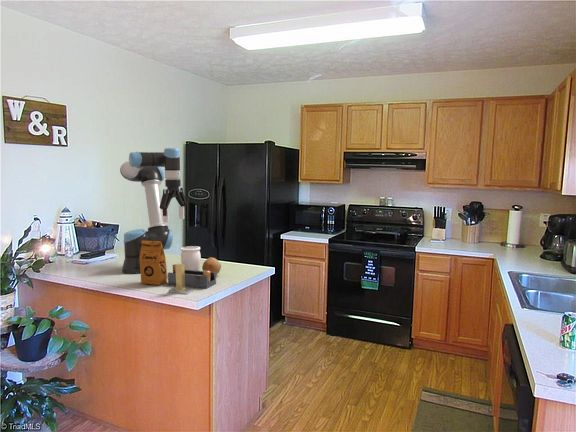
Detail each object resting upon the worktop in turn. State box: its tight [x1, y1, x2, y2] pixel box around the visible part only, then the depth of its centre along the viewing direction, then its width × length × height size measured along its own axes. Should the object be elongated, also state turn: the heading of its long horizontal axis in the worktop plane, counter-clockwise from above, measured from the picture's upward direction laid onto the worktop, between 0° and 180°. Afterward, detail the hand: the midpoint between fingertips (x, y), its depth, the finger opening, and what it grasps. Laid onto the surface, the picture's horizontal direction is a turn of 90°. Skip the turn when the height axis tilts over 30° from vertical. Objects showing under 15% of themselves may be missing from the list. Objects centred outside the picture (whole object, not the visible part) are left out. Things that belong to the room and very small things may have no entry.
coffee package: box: [139, 241, 168, 286], centre depth 214 cm, size 10×12×22 cm
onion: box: [201, 257, 222, 276], centre depth 229 cm, size 10×10×10 cm
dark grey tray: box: [167, 263, 217, 290], centre depth 212 cm, size 22×9×9 cm, turn 71°
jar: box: [180, 245, 202, 271], centre depth 232 cm, size 11×10×15 cm
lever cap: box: [168, 263, 194, 295], centre depth 199 cm, size 10×5×13 cm, turn 71°
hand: (174, 220), depth 218 cm, fingers open, 13 cm apart
